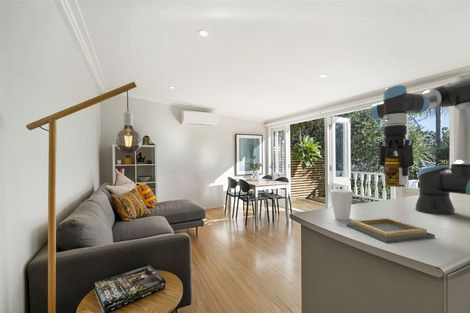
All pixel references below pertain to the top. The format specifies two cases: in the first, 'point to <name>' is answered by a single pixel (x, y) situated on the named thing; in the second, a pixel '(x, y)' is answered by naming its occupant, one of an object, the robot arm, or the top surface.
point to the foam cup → (341, 203)
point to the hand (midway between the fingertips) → (395, 183)
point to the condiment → (392, 171)
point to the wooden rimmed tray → (389, 230)
